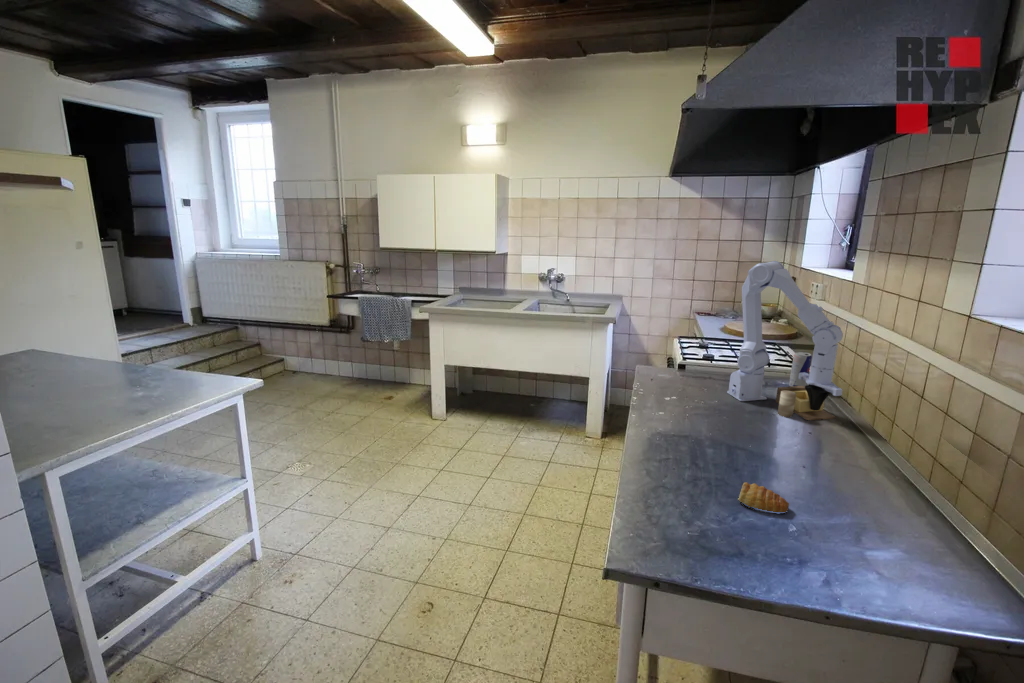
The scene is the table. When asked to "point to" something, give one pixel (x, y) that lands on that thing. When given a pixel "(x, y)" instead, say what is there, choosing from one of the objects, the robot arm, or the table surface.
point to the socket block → (803, 402)
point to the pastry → (762, 498)
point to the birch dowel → (786, 403)
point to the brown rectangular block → (806, 415)
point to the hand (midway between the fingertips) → (814, 409)
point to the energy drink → (800, 368)
